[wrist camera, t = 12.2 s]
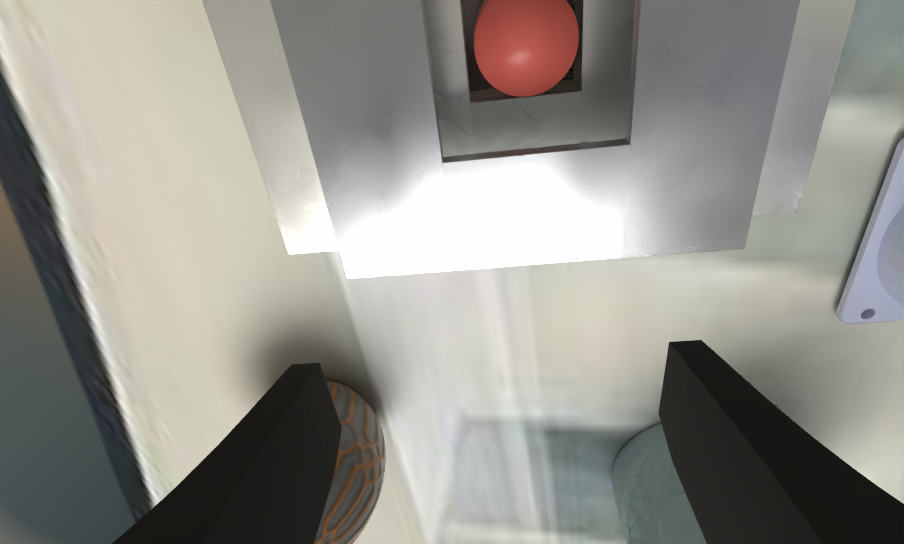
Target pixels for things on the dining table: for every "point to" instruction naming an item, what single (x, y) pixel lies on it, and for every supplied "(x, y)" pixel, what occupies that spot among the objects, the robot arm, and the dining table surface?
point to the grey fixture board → (528, 129)
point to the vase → (353, 469)
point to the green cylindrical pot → (652, 493)
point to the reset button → (525, 44)
